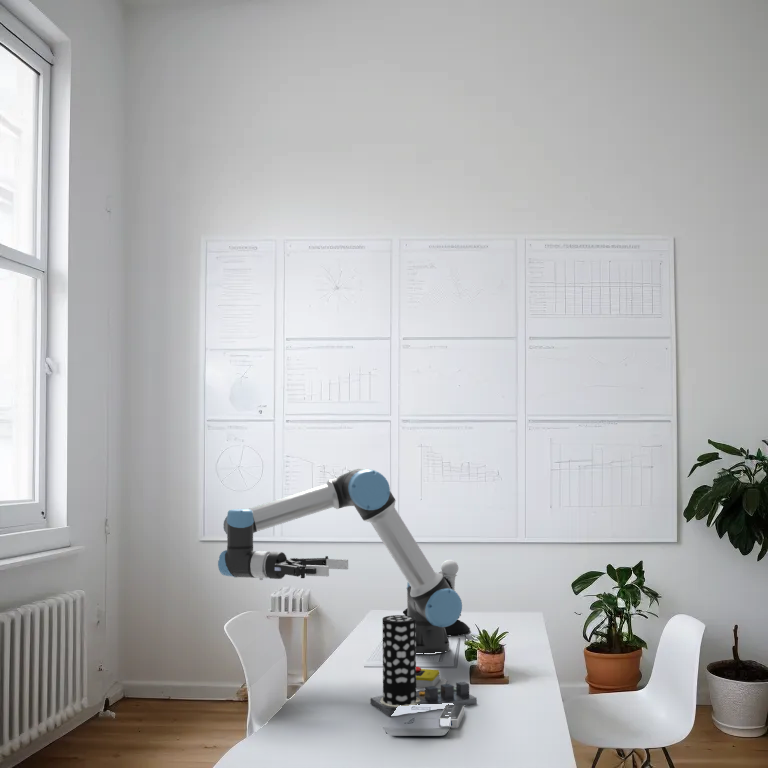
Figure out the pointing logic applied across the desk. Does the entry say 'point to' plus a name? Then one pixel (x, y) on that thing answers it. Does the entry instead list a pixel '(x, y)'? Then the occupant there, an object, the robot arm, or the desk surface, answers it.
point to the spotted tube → (399, 660)
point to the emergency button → (428, 678)
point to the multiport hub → (453, 714)
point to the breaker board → (455, 701)
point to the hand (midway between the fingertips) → (338, 567)
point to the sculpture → (449, 574)
